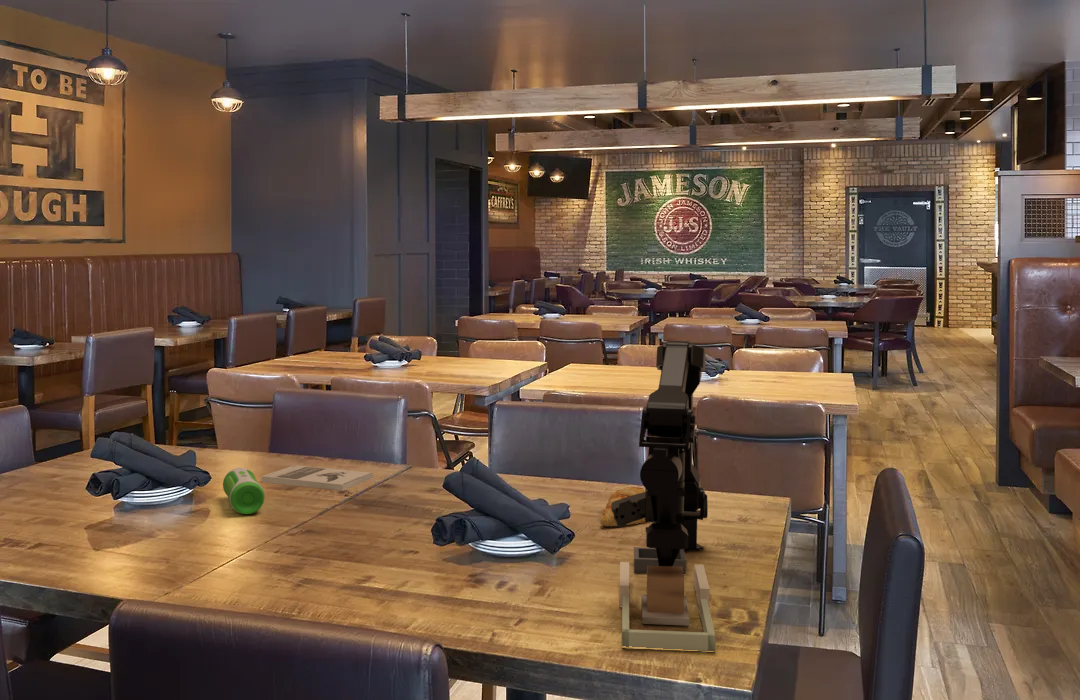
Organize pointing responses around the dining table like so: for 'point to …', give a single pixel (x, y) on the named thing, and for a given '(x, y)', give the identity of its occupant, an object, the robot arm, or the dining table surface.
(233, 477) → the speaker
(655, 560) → the tray
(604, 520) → the croissant
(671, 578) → the brown block on plate
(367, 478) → the book
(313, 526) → the dining table surface
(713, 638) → the bay
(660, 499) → the robot arm
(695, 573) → the channel
